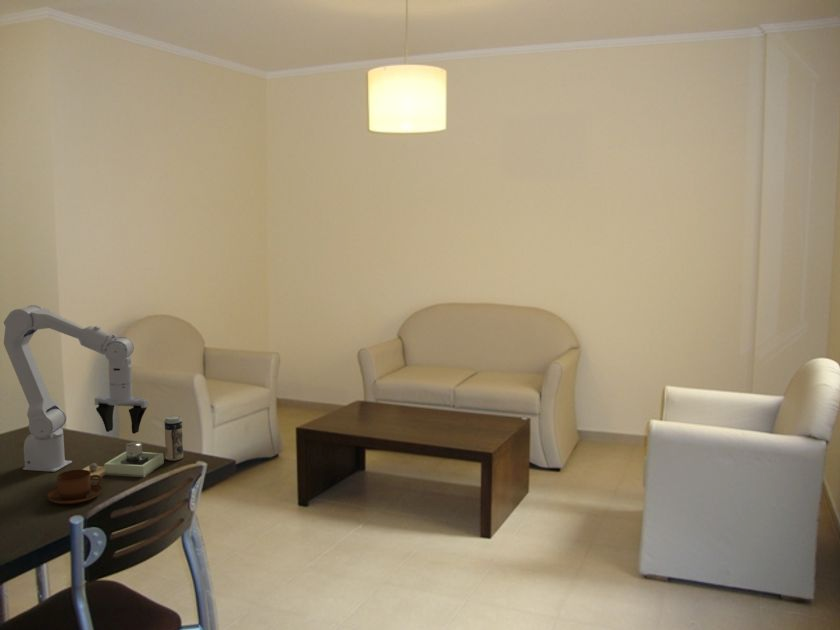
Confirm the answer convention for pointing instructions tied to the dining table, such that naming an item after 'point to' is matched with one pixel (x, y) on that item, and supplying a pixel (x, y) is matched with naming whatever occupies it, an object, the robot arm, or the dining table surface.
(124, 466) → the tray
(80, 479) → the cup and saucer
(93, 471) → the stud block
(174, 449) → the lidded jar
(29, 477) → the dining table surface
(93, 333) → the robot arm
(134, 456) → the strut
